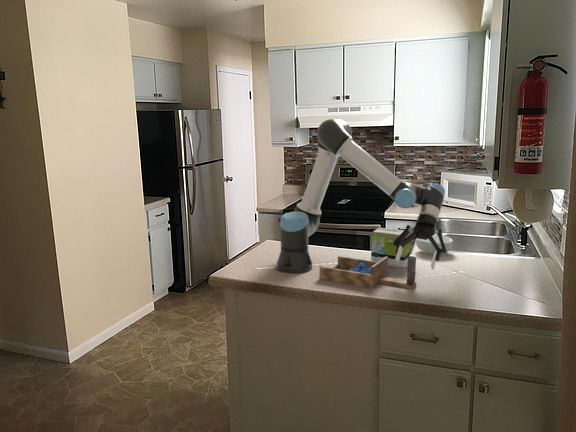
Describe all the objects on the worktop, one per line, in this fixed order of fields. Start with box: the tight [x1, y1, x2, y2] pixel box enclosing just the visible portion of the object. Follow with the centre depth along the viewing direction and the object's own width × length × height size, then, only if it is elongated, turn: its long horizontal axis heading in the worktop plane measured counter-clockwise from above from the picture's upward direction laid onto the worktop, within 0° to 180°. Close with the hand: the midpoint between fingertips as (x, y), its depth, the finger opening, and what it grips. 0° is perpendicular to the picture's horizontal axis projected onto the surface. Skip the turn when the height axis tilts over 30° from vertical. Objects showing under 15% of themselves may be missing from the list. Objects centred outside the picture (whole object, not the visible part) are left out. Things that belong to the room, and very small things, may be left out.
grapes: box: [348, 262, 371, 274], centre depth 195 cm, size 12×7×12 cm
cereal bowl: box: [415, 234, 453, 256], centre depth 231 cm, size 17×17×7 cm
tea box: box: [370, 227, 412, 269], centre depth 214 cm, size 15×10×15 cm, turn 62°
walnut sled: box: [318, 255, 417, 290], centre depth 192 cm, size 36×18×12 cm, turn 59°
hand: (414, 264), depth 185 cm, fingers open, 13 cm apart
